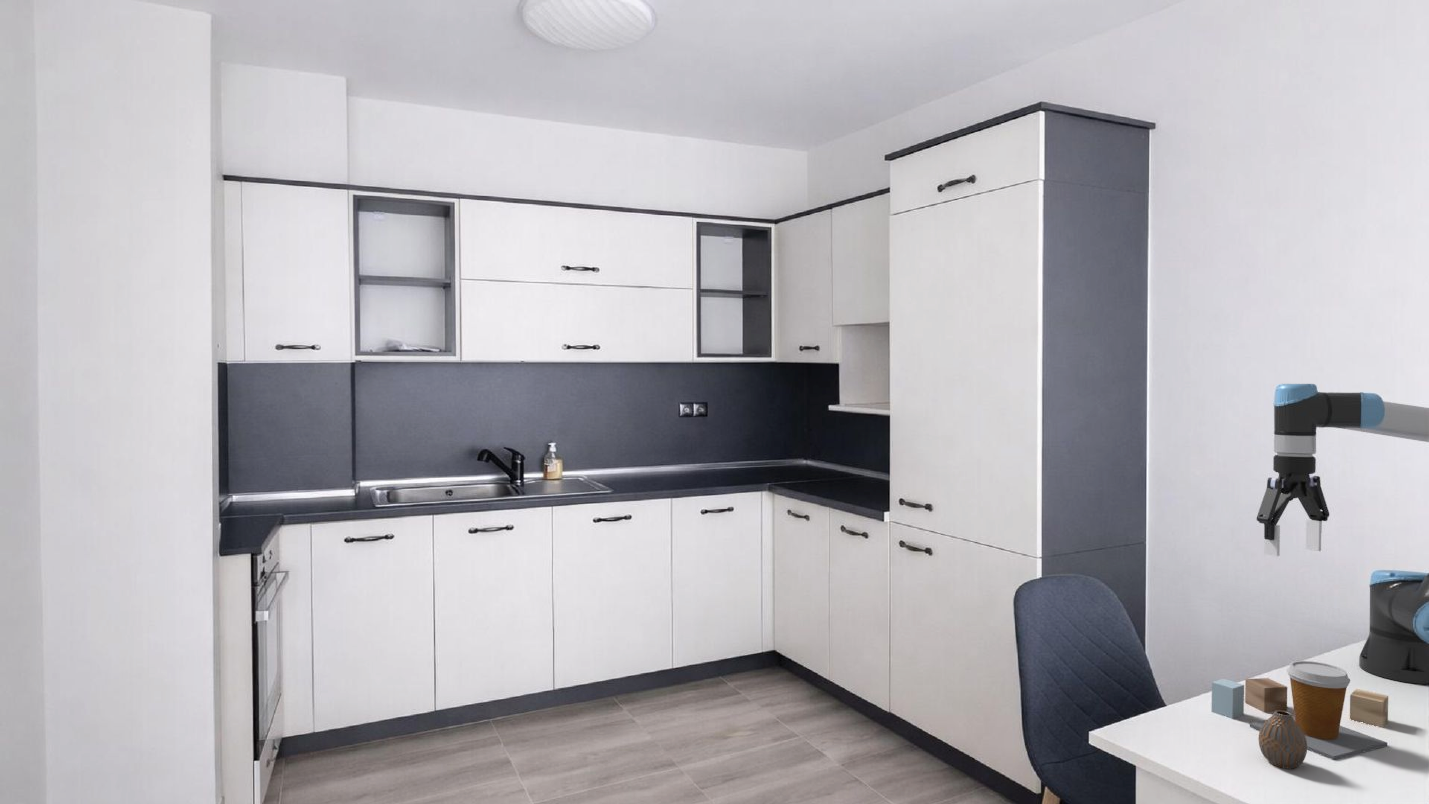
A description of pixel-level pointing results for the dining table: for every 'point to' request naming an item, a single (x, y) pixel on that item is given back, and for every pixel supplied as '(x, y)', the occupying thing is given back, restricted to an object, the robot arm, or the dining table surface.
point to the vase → (1282, 740)
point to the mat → (1338, 742)
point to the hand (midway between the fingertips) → (1292, 552)
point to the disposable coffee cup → (1318, 697)
